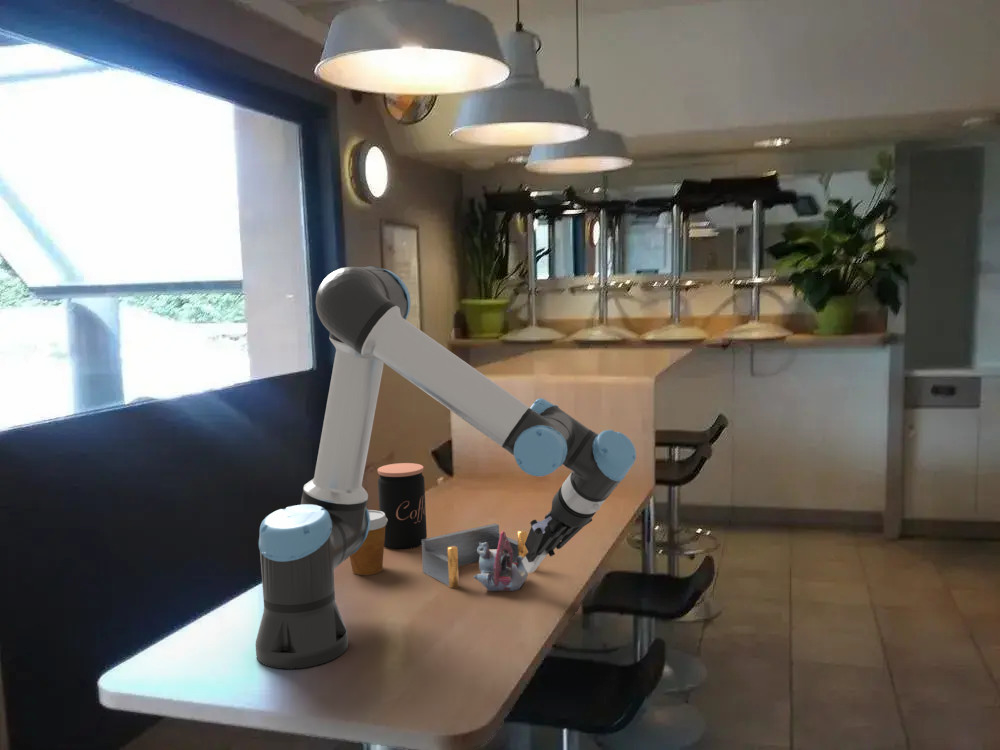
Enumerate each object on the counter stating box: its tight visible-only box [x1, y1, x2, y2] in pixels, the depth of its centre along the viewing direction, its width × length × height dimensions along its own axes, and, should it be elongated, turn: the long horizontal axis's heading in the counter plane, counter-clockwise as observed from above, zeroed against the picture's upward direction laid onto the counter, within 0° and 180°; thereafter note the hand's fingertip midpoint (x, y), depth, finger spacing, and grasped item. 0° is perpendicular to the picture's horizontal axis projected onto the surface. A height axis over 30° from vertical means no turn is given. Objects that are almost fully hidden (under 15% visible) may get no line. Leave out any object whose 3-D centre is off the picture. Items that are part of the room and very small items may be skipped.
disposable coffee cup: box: [349, 509, 388, 576], centre depth 186 cm, size 10×10×12 cm
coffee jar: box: [377, 462, 428, 551], centre depth 203 cm, size 11×11×18 cm
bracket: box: [421, 523, 528, 589], centre depth 183 cm, size 19×12×8 cm, turn 124°
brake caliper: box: [473, 530, 529, 592], centre depth 175 cm, size 11×11×12 cm
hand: (527, 566), depth 169 cm, fingers closed
